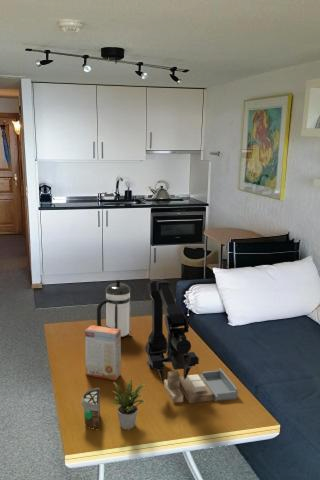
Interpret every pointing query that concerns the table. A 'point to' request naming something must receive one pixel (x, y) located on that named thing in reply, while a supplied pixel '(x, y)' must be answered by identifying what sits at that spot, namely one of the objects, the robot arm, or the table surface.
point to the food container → (91, 407)
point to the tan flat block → (195, 396)
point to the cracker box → (103, 352)
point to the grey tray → (220, 385)
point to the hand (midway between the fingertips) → (173, 380)
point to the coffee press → (116, 307)
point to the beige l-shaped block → (173, 386)
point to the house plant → (128, 405)
